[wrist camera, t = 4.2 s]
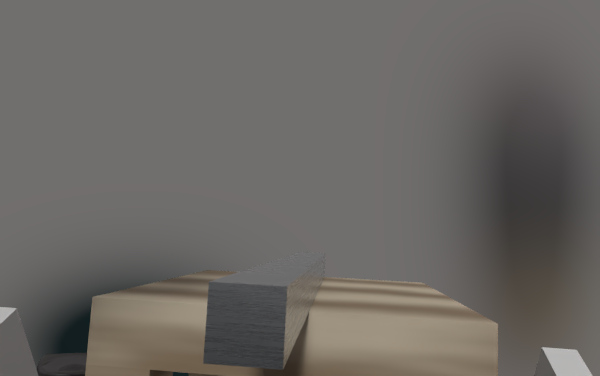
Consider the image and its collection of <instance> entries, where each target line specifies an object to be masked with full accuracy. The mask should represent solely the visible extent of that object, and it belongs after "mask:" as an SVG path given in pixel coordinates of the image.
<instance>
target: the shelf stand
mask: <svg viewBox="0 0 600 376" xmlns="http://www.w3.org/2000/svg"><path fill="white" fill-rule="evenodd" d="M234 273H237V272H229V271H211V270H206V271H202V272H197V273H193V274H189V275H185V276H180V277H177V278H172V279H168V280H163V281H159V282H155V283H150V284H146V285H142V286H138V287H134V288H129V289H125V290H121V291H116V292H112V293H108V294H104V295H99V296H95V297H93V300H92V311H91V321H90V330H89V340H88V351H87V361H86V371H85V376H173V372H185V373H189V376H498V324H497V323H495V322H493V321H491V320H489V319H488V318H486V317H484V316H482V315H480V314H479V313H477V312H475V311H473V310H471V309H469V308H468V307H465V306H464V305H462V304H460V303H458V302H457V301H455V300H453V299H451V298H449V297H448V296H446V295H444V294H442V293H440V292H438V291H436V290H435V289H433V288H431V287H429V286H427V285H426V284H424V283H415V282H398V281H382V280H364V279H347V278H331V277H324V280H323V282H322V284H321V286H320V288H319V291H318V293H317V295H316V297H315V300H314V302H313V304H312V306H311V309H310V311H309V313H308V315H307V317H306V320H305V322H304V324H303V326H302V329H301V331H300V333H299V335H298V337H297V340H296V342H295V344H294V346H293V349H292V351H291V353H290V355H289V358H288V360H287V362H286V364H285V366H284V369H283V370H278V369H266V368H253V367H241V366H228V365H215V364H203V358H204V344H205V330H206V315H207V301H208V287H209V282H210V281H213V280H216V279H219V278H222V277H225V276H228V275H231V274H234Z"/></svg>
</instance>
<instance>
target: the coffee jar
mask: <svg viewBox="0 0 600 376" xmlns="http://www.w3.org/2000/svg"><path fill="white" fill-rule="evenodd" d="M86 361H87V353H69V354H47V355H45V356H44V357H43V358H42V359H41V360H40V361H39V363H38V366H37V369H36V370H37V373H38V376H85V371H86Z"/></svg>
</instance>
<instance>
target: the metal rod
mask: <svg viewBox="0 0 600 376" xmlns="http://www.w3.org/2000/svg"><path fill="white" fill-rule="evenodd" d="M324 269H325V253H311V252H299V253H296V254H293V255H290V256H287V257H284V258H281V259H278V260H275V261H271V262H268V263H265V264H262V265H259V266H256V267H253V268H250V269H247V270H244V271H240V272H237V273H234V274H231V275H228V276H225V277H222V278H219V279H216V280H213V281H210V282H209V287H208V301H207V315H206V330H205V344H204V358H203V364H215V365H228V366H241V367H253V368H266V369H278V370H283V369H284V366H285V364H286V362H287V360H288V358H289V355H290V353H291V351H292V349H293V346H294V344H295V342H296V340H297V337H298V335H299V333H300V331H301V329H302V326H303V324H304V322H305V320H306V317H307V315H308V313H309V311H310V309H311V306H312V304H313V302H314V300H315V297H316V295H317V293H318V291H319V288H320V286H321V284H322V282H323V280H324Z"/></svg>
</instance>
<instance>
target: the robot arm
mask: <svg viewBox="0 0 600 376" xmlns="http://www.w3.org/2000/svg"><path fill="white" fill-rule="evenodd" d="M0 376H38V373H37V370H36V367H35V364H34V360H33V357H32V354H31V351H30V348H29V345H28V342H27V339H26V335H25V332H24V329H23V326H22V323H21V320H20V317H19V314H18V310H17V308H6V307H0ZM534 376H592V374H591V373H590V371H589V369H588V368H587V366H586V364H585V363H584V361H583V360H582V358H581V356H580V355H579V353H578V352H577V350H569V349H556V348H543V347H542V349H541V353H540V356H539V360H538V363H537V367H536V371H535V374H534Z"/></svg>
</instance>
